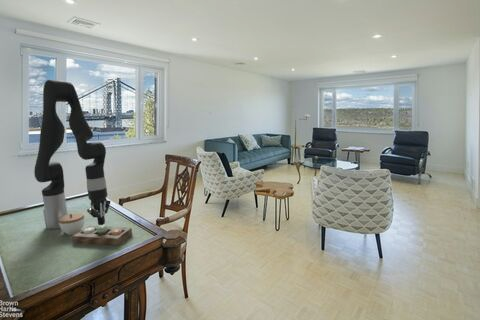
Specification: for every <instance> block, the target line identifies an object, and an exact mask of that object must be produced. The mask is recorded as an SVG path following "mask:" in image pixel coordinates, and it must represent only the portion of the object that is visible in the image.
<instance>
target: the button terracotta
mask: <svg viewBox="0 0 480 320" xmlns="http://www.w3.org/2000/svg"><path fill="white" fill-rule="evenodd" d="M121 233H122V230H121V229H115V230H113V231H111V235H120V234H121Z"/></svg>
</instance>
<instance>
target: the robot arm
mask: <svg viewBox="0 0 480 320" xmlns="http://www.w3.org/2000/svg"><path fill="white" fill-rule="evenodd" d="M42 92H43V93H42V98H43V99H42V119H41V126H40V134H39V145H38V153H37V157H36V159H35V166H34V170H33V171H34V172H33V173H34V179H35V180H36V181H37V182H38V183H48V182H50V183H49V184H48V185H47V186H46V187H44V188H43V189H42V190H41V195H42V201H43V207H44V209H43V216H44V217H43V218H44V223H45V225H44V226H45V228H47V229H49V230H57V229H60V226H59V222H58V219H59V218H60V217H62V216H65V215H68V209H67V202H66V195H65V178H64V169H63V166H62V165H61V163H60V162H58V161H51V159H52V157H53V156H54V154H55V153H56V152H57V151H58V150H59V149H60V147H62V144H63V142H64V138H65V133H66V131H65V130H66V128H65V126H64V123H63V121H62V120H61V119H60V117H59V115H58V113H57V111H56V110H57V108H56V107H57V102H58V103H59V102H63V103H67V104H68V106H69V107H70V113H69V118H68V126H69V128H70V130H71V133H72V134H73V136H74V138H75V143H76V147H77V148H76V149H77V154H78V156H79V157H80V158H81V159H82V160H84V161H85V160H86V161H88V160H93V161H92V163H90V164H87V165H86V166H85V168H84V169H85V170H84V171H85V177H86V190H87V195H88V200H89V201H90V208H87V213H88V214H89V215H90V216H92V218H97V224H98V226H100V225H106V224H105V223H106V221H105V220H106V217H105V216H106V214H107V213H108V212H109V208H110V205H111V200H108V199H107V197H108V190H107V189H108V188H107V180H106V177H105V171H104V165H105V159H106V154H107V152H106V151H107V148H106V146H105V145H104V143H102V142H100V141H93V142H87V141H90V140H92V138H93V137H94V133H93V130H92V129H91V127H90V125H89V124H88V121H87V119H86V116H85V115H84V112H83V108H82V105H81V101H80V99H79V96H78V92H77V90H76V88H75V86H74V85H73V83H72V82H70V81H67V80H58V79H47V80H46V81H44V85H43V90H42Z"/></svg>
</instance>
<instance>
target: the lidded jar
mask: <svg viewBox="0 0 480 320" xmlns="http://www.w3.org/2000/svg"><path fill="white" fill-rule="evenodd" d="M67 214H68V213H67ZM58 222H59V226H60V228H59V229H60V230H61V232H63V233H64V234H66V235H67V236H68V235H71V236H73V235H75V234H76V233H78V232H80V231H82V230H83V229H84V225H85V214H84V213H82V212H74V213H73V212H72V213H69V214H68V215H65V216H62V217H60V218H59V219H58Z"/></svg>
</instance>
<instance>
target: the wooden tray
mask: <svg viewBox="0 0 480 320" xmlns="http://www.w3.org/2000/svg"><path fill="white" fill-rule="evenodd" d="M98 226H99V225H89V226H87V227H85V228H82V229H81V231H80V232H78V233H76V234H72V235H71V236H72V243H73V244H81V245H83V244H85V245H98V246H99V245H100V246H101V245H102V246H112V247H113V246H117V247H119V246H120V245H121V244H123V243H124V242H125V241H127V239H129V238H130V237H132V235H133V229H132V227H127V226H126V227H122V226H119V227H118V226H108V232H106V233H103V234H98V233H97V227H98ZM87 228H94V232H92V233H91V234H84V232H83V230H84V229H87ZM115 229H121V230H122V233H121V234H120V235H111V231H113V230H115Z"/></svg>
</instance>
